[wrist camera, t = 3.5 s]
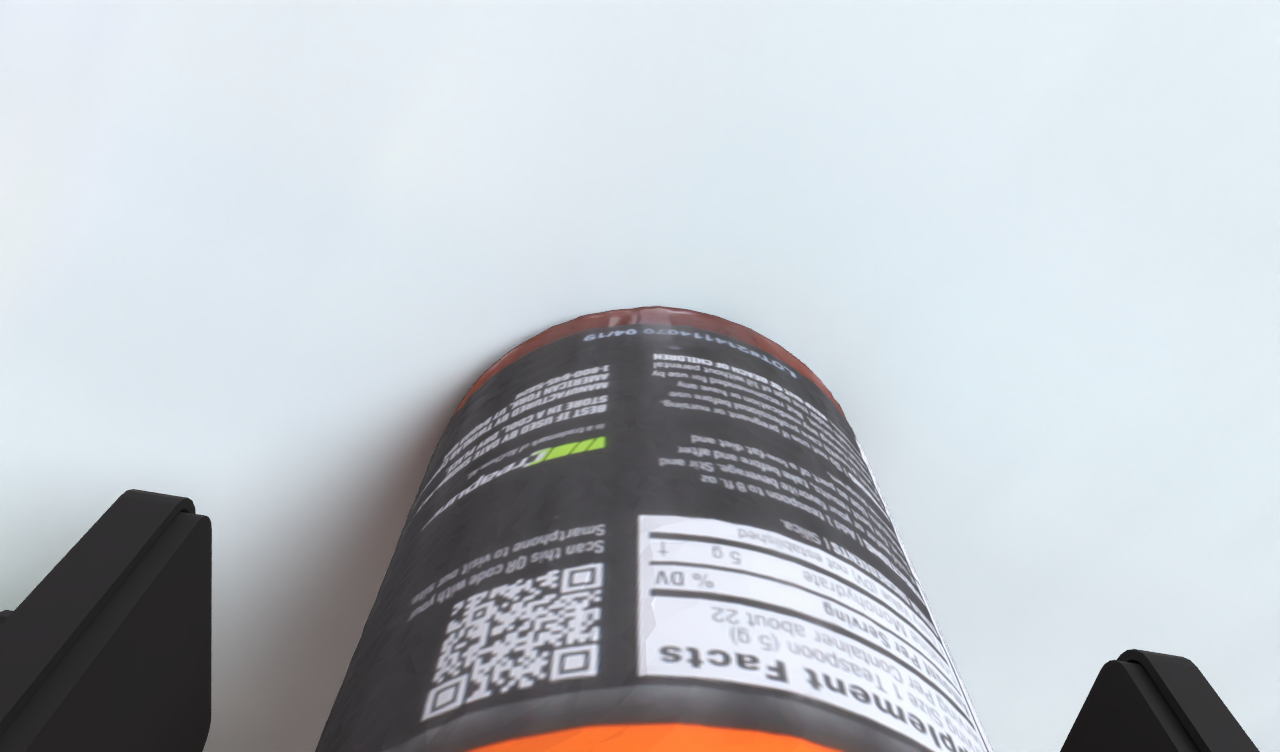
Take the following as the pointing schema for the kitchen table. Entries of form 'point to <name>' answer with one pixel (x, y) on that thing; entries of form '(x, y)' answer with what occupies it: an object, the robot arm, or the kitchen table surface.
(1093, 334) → the kitchen table surface
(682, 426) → the supplement bottle
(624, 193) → the kitchen table surface
